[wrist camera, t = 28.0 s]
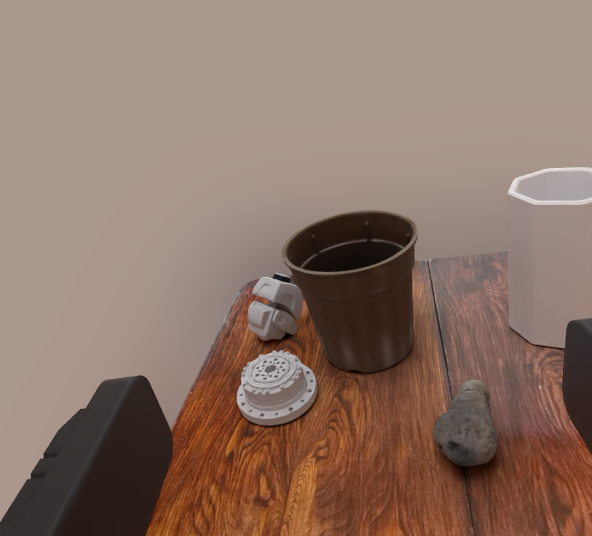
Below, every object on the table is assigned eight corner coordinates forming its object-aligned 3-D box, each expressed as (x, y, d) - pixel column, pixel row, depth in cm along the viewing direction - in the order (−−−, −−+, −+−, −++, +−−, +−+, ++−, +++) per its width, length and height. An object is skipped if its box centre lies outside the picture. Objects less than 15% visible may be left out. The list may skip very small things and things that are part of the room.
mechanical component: (303, 432, 53) (328, 372, 61) (294, 403, 51) (321, 344, 59) (226, 422, 57) (259, 367, 65) (215, 394, 55) (250, 341, 63)
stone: (464, 398, 54) (409, 379, 51) (501, 373, 50) (444, 351, 47) (493, 488, 46) (430, 472, 43) (538, 466, 43) (474, 447, 40)
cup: (536, 290, 67) (539, 162, 59) (626, 316, 58) (644, 171, 50) (490, 328, 62) (486, 195, 53) (581, 363, 53) (592, 211, 45)
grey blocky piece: (293, 348, 70) (312, 283, 70) (260, 344, 65) (281, 274, 65) (267, 336, 74) (285, 275, 74) (234, 331, 69) (254, 266, 70)
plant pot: (357, 408, 55) (332, 288, 47) (286, 347, 68) (258, 246, 60) (456, 342, 61) (448, 227, 54) (374, 298, 74) (358, 201, 67)
